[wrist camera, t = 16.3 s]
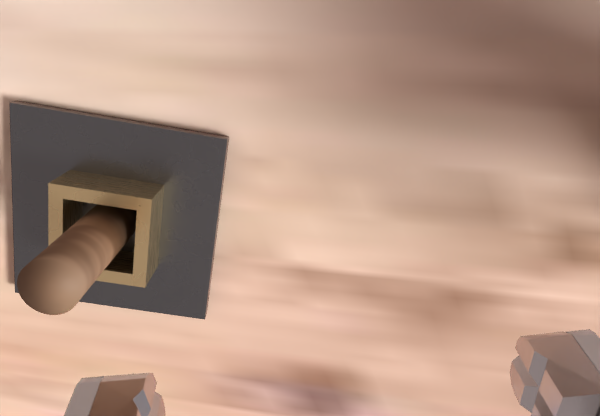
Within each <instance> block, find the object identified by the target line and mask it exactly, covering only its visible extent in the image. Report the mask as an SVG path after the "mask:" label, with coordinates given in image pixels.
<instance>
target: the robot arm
mask: <svg viewBox="0 0 600 416" xmlns="http://www.w3.org/2000/svg"><path fill="white" fill-rule="evenodd" d="M515 348H516V350H517V352H518V354H519V356H518V357H516V358H515V359H514V360H513V361H512V364H511V369H510V377H511V384H512V387H513V391H514V394H515V396H516V398H517V400H518V402H519V404H520V405H521V406H523V407H524V408H526V409H527V410H528V411H530V412H531V416H600V338H599V337H598V336H597V335H596V333H594V332H593V331H591V330H590V329H589V330H578V331H568V332H554V333H545V334H536V335H527V336H521V337H520V338H519V339H518V340H517V343H516V347H515ZM156 384H157V382H156V380H155V377H154V375H153V373H142V374H128V375H114V376H102V377H90V378H82V379H81V380H80V381H79V382H78V384H77V385H76V387H75V389H74V392H73V394H72V397H71V399H70V402H69V404H68V407H67V409H66V412H65V414H64V416H165V407H164V402H163V399H162V396H161V395H160V394H158V393H156V392H155V388H156Z"/></svg>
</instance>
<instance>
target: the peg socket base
mask: <svg viewBox="0 0 600 416" xmlns="http://www.w3.org/2000/svg"><path fill="white" fill-rule="evenodd" d="M10 132H11V167H12V202H13V236H14V271H15V292H16V293H19V291H18V288H17V278H18V275H19V273H20V271H21V270H22V269H23V268H24V267H25V266H26V265H27V264H28V263H29V262H31V261H32V260H33V259H34V258H35V257H36V256H38V255H39V254H40V253H41V252H42V251H43V250H44V249H46V248H47V247H48V246H49V245H50V244H51V243H53V242H54V241H55V240H56V239H57V238H58V237H60V236H61V235H62V234H63V233H64V232H65V231H67V230H68V229H69V228H70V227H71V226H72V225H74V224H75V223H76V222H77V221H78V220H79V219H81V218H82V217H83V216H84V215H85V214H86V213H88V212H89V211H90V210H91V209H92V208H93V207H95V206H96V205H97V204H100V205H106V206H112V207H119V208H125V209H131V210H134V211H135V213H136V215H137V216H136V231H135V232H134V234H133V235H132V236H131V237H130V239H129V240H128V241H127V242H126V244H125V245H124V246H123V247H122V249H121V250H120V251H119V252H118V253H117V255H116V256H115V257H114V258H113V260H112V261H111V262H110V263H109V265H108V266H107V267H106V268H105V270H104V271H103V272H102V273H101V274H100V276H99V277H98V278H97V279H96V281H95V282H94V283H93V284H92V286H91V287H90V288H89V289H88V290H87V292H86V293H85V294H84V295H83V297H82V298H81V299H80V300H79V302H86V303H93V304H100V305H107V306H114V307H121V308H128V309H136V310H143V311H150V312H157V313H164V314H171V315H178V316H185V317H192V318H199V319H205V317H206V314H207V307H208V299H209V291H210V283H211V276H212V268H213V260H214V252H215V244H216V236H217V228H218V221H219V213H220V205H221V197H222V189H223V181H224V173H225V165H226V158H227V150H228V142H229V137H227V136H221V135H216V134H210V133H204V132H198V131H192V130H186V129H180V128H174V127H168V126H163V125H157V124H151V123H145V122H139V121H133V120H127V119H121V118H115V117H110V116H104V115H98V114H92V113H86V112H80V111H74V110H68V109H63V108H57V107H51V106H45V105H39V104H33V103H27V102H21V101H14V102H10Z"/></svg>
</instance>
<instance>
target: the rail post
mask: <svg viewBox="0 0 600 416" xmlns="http://www.w3.org/2000/svg"><path fill="white" fill-rule="evenodd" d="M136 216H137V215H136V213H135V211H134V210H131V209H125V208H119V207H112V206H106V205H100V204H97V205H96V206H95V207H93V208H92V209H91V210H90V211H89V212H88V213H86V214H85V215H84V216H83V217H82V218H81V219H79V220H78V221H77V222H76V223H75V224H74V225H72V226H71V227H70V228H69V229H68V230H67V231H65V232H64V233H63V234H62V235H61V236H60V237H58V238H57V239H56V240H55V241H54V242H53V243H51V244H50V245H49V246H48V247H47V248H46V249H44V250H43V251H42V252H41V253H40V254H39V255H38V256H36V257H35V258H34V259H33V260H32V261H31V262H29V263H28V264H27V265H26V266H25V267H24V268H23V269H22V270H21V271H20V273H19V275H18V278H17V288H18V291H19V294H20V296H21V298H22V299H23V300H24V301H25V303H26V304H27V305H29V306H30V307H31V308H33V309H34V310H36V311H38V312H41V313H44V314H49V315H58V314H63V313H66V312H68V311H70V310H71V309H72V308H73V307H74V306H75V305H76V304H77V303H78V302H79V300H80V299H81V298H82V297H83V295H84V294H85V293H86V292H87V290H88V289H89V288H90V287H91V286H92V284H93V283H94V282H95V281H96V279H97V278H98V277H99V276H100V274H101V273H102V272H103V271H104V270H105V268H106V267H107V266H108V265H109V263H110V262H111V261H112V260H113V258H114V257H115V256H116V255H117V253H118V252H119V251H120V250H121V249H122V247H123V246H124V245H125V244H126V242H127V241H128V240H129V239H130V237H131V236H132V235H133V234H134V232H135V231H136Z"/></svg>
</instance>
